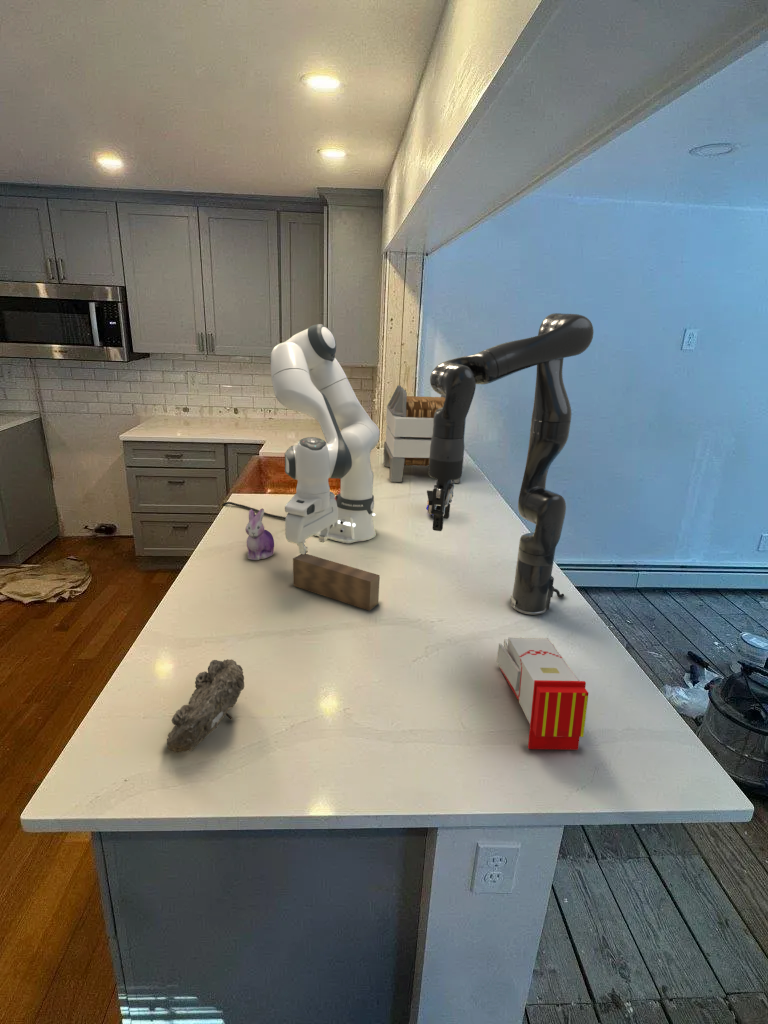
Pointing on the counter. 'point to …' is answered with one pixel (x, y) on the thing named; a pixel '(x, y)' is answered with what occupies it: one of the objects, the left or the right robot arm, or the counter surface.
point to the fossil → (206, 705)
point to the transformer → (409, 431)
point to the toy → (545, 692)
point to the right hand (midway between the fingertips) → (440, 524)
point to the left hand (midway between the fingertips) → (313, 547)
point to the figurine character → (430, 502)
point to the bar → (336, 581)
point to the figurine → (258, 537)
